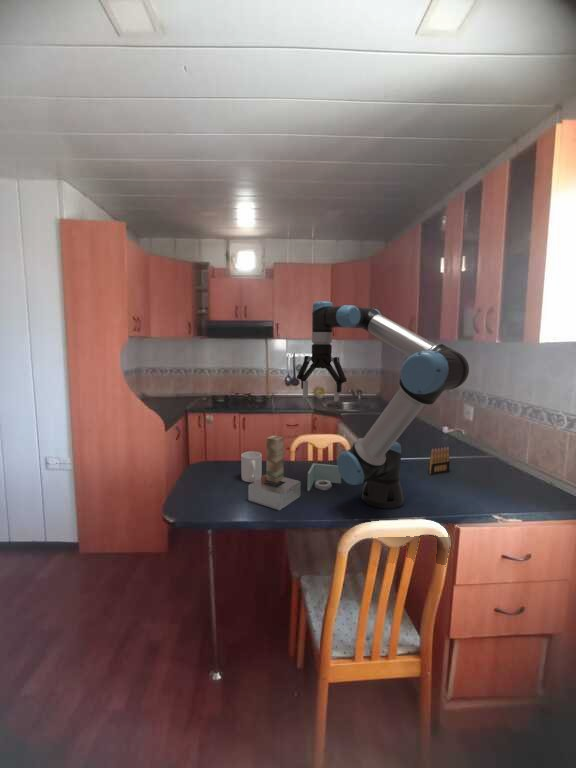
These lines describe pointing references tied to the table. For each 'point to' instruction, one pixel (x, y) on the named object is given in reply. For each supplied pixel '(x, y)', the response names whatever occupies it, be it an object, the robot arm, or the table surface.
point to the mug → (251, 466)
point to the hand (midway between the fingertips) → (320, 399)
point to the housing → (274, 492)
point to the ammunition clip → (439, 461)
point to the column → (275, 458)
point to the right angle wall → (323, 476)
